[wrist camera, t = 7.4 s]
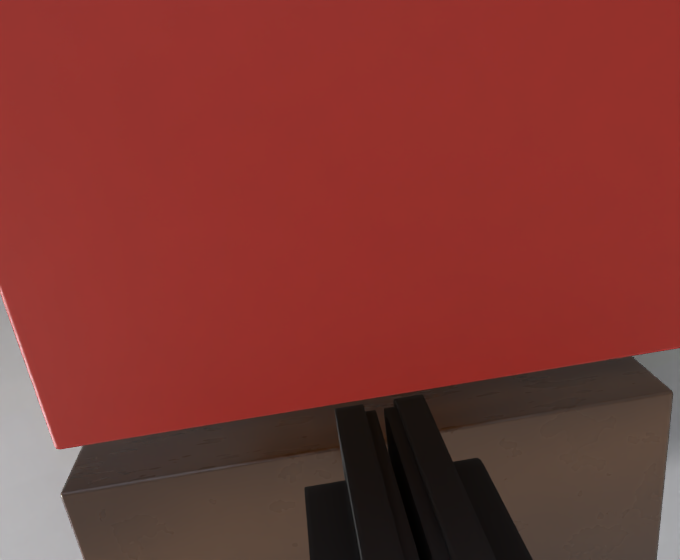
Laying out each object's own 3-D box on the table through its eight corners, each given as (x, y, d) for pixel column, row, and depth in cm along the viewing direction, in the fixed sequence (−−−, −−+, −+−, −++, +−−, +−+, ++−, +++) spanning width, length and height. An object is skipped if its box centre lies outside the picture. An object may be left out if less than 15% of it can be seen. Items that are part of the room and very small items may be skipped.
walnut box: (127, 346, 18) (58, 494, 12) (546, 281, 19) (674, 391, 13) (189, 570, 22) (159, 773, 16) (544, 507, 22) (646, 677, 16)
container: (180, 51, 18) (-150, -806, 5) (417, 21, 18) (611, -839, 6) (225, 435, 15) (-205, 471, 3) (498, 390, 16) (1138, 255, 3)
